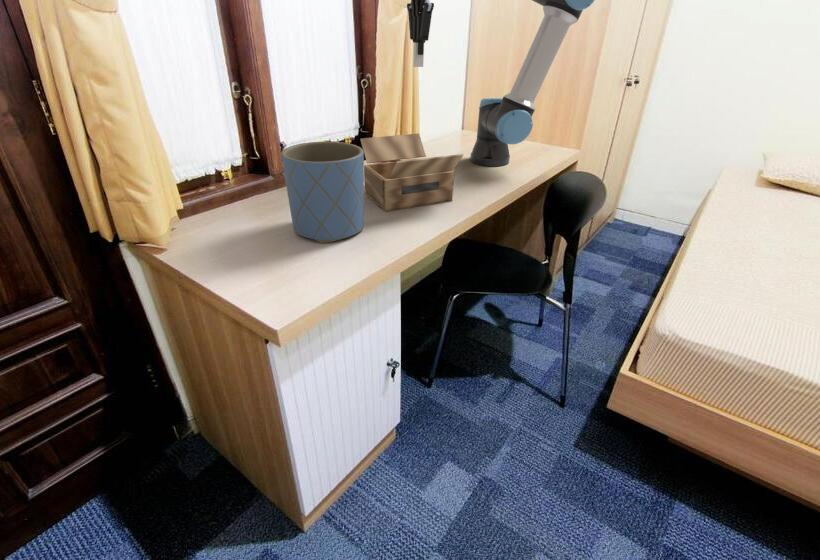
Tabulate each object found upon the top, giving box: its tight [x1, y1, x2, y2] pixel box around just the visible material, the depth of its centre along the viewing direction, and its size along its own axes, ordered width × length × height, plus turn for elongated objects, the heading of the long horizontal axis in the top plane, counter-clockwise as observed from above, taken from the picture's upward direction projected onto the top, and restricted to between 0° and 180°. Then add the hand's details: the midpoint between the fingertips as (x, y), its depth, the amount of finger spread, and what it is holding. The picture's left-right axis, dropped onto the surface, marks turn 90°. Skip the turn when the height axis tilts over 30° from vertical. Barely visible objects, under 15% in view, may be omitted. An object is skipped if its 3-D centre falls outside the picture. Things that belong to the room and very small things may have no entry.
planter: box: [280, 141, 365, 244], centre depth 107 cm, size 19×19×20 cm
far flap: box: [359, 132, 427, 164], centre depth 135 cm, size 20×8×1 cm
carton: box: [364, 157, 455, 212], centre depth 131 cm, size 23×16×9 cm
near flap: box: [389, 153, 464, 179], centre depth 119 cm, size 20×8×1 cm
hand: (418, 66), depth 135 cm, fingers closed
